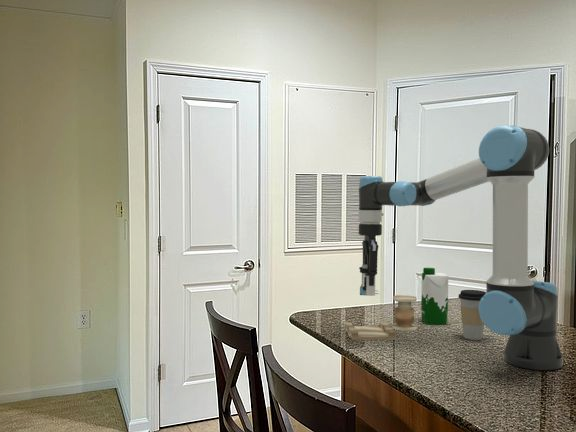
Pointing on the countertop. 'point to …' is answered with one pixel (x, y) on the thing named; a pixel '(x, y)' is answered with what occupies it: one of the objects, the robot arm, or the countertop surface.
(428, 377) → the countertop surface
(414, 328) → the bobbin
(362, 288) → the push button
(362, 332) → the terminal board
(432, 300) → the milk carton
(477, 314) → the coffee cup
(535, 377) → the countertop surface
